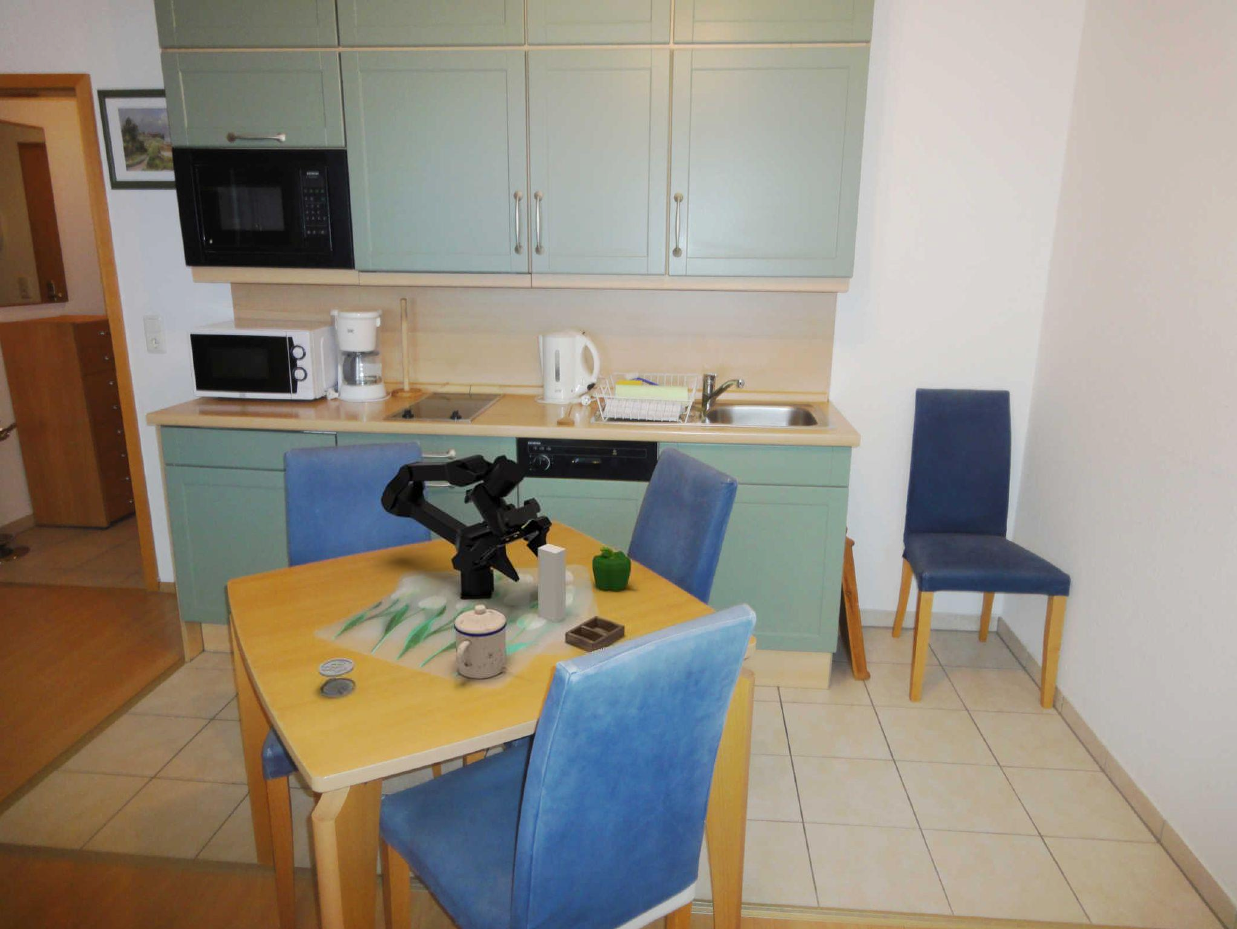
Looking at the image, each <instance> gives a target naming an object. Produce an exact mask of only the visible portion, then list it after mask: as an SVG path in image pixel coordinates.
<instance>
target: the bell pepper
mask: <svg viewBox="0 0 1237 929" xmlns="http://www.w3.org/2000/svg"><path fill="white" fill-rule="evenodd" d="M599 549H600V552H601V553H600V554H599V555H594V557H593V558H592V560H591V561H592V565H591V566H592V567H591V568H592V574H593V578H594V582H595V585H596V589H598V590H600V591H604V592H605V591H606V592H608V591H611V592H620V591H624V590H625V589H626V588H627V586H628V584H629V581H630V576H631V572H632V561H631V559H630V557H629V556H627V555H626V554H625V553H624V552H623V551H622V550H620V551H619V550H618V551H614V552H613V549H612V548H609V547H608V546H602V547H600V548H599Z"/></svg>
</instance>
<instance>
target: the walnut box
mask: <svg viewBox="0 0 1237 929" xmlns="http://www.w3.org/2000/svg"><path fill="white" fill-rule="evenodd" d="M625 626H626V625H623V624H620V623H617V622H615V621H611V620H610V619H607V618H603V617H602V616H601V617H600V616H597V615H595V616H593V617H591V618H589V619H587V620H586V621H584V622H582V623H581V624H579V625H577V626H575V627H574V628H571V629H570V630H568V631H566V632H564V633H565V634H564V638H565V640H564V643H565V644H567V645H570V646H572V647H575V648H577V649H580V650H583V651H585V652H587V653H590V652H592V651H595V650H598V649H601V648H603V647H605V648H607V647H609V646H611V645H612V644H613V643H615V642H617V641H618V640H620V639H622V638H624V637H625V635H626V634H625V631H626V630H625V628H626V627H625Z"/></svg>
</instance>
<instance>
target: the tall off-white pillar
mask: <svg viewBox="0 0 1237 929" xmlns="http://www.w3.org/2000/svg"><path fill="white" fill-rule="evenodd" d="M566 550H567V549H566V548H563V547H561V546H556V545H553V544H550V543H547V544H546V545H544V546H541V547H539V548H538V558H537V574H538V575H537V585H538V586H537V588H538V589H537V590H538V593H537V596H538V598H537V600H538V601H537V604H538V605H537V607H538V610H537V611H538V612H537V613H538V616H537V617H539V618H541V619H543V620H546V621H549V622H552V623H555V624H557V623H559V622H560V621H562V620H564V619H565V618H566V603H567V602H566V593H567V591H566V586H567V585H566V583H567V582H566V579H567V578H566V577H567V576H566V573H567V572H566V569H567V566H566V565H567V562H566V561H567V560H566V557H567V556H566V555H567V551H566Z"/></svg>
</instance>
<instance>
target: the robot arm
mask: <svg viewBox="0 0 1237 929" xmlns="http://www.w3.org/2000/svg"><path fill="white" fill-rule="evenodd" d="M524 471H525V470H524V469H523V467H522V466H521V464H519V463H518V462H516V461H514V460H512V459H510V458H508V457H507V456H506V455H505V454H502V455H498V456H496V457H495V459H494V460H493V462H491V461H489V460H486V459H485V458H484V456H483V455H482V454H477V453H476V454H474V455H473V454H472V455H469V456H466V457H463V458H458V459H455V460H454V459H453V460H451V461H424V462H423V461H418V460H417V461H413V462H410V463H406V464H403V465H402V466H400V468H399V469H398V471H397V474H395V476H393V477H392V479H390V481H388V483H387V484H386V486H385V488H384V490H383V491H382V495H381V497H380V504H381V506H382V508H383V509H384V511H385V512H387V514H389V515H392V516H395V517H397V518H404V519H405V518H407V519H412V520H414V521H416V522H417V523H418V524H420V525H422V526H423V527H425V528H426V529H428V530H429V531H431V532H433V533H434V534H436V535H437V536H439V537H441V538H442V539H443V540H445V541H447V542H449V543H450V544H452V545H453V546H454V548H455V552H456V554H455V555H454V556H453V557H452V558H451V559H450V560H451V564H452V567H453V569H454V570H455V571H458V572H460V596H459V597H460V599H462V600H464V599H465V600H466V599H467V600H468V599H489V598H493V597H492V596H493V595H492V594H493V592H494V591H495V577H494V576H495V574H494V573H495V572H494V570H496V571H497V572H499V573H501V574H502V575H504V576H505V577H507V578H509V579H510V580H512V581H513V582H515V583H518V582H519V581H520V576H519V574H518V572H517V570H516V569H515V567H514V565H513V563H512V562H511V560H510V559H509V557H508V554H507V545H510V544H511V543H514V542H517V541H520V540H522V539H523V540H524V541H525V542H527V543H526V544H525V545H526V547H527V548H528V549H529V550H530V551H531V553H532V554H533V555H534V556H535V557H536V558H537V559H538V548H539V547H541V546H544V545H546V544H548V542H547V537H548V533H549V532H550V527H552V526H553V522H551V520H550V518H549V517H548V516H546V515H541V516H538V513H541V511H542V510H541V506H540V503H539V502H538V500H537V499H536V498H535V497H532V498H529V499H526V500H524V501H523V506H519V507H516V506H515V504H513V503H507V501H506V500H505V498H506V497H508V496H509V495H510V494H511V493H512V492H514V490H515V489H516V488H517V487H518V486H519V485H520V483H521V482H523V480H524V479H525V472H524ZM425 482H446V483H448V484H449V485H451V486H455V487H459V488H464V487H467V486H471V485H474V487H473V488H470V489H467V490H465V496H464V501H463V502H464V504H465V505H467V504H471V503H473V505H474V507H475V508H476V510H477V511H478V513H479V515H480V516H481V518H482V520H483V521H482V522H477V523H473V524H471V525H466V524H465V523H463V522H461V521H460V520H458V519H456V518H455V517H454V516H452V515H450V514H449V513H447V512H445V511H443V510H442V509H441V508H439V507H437V506H436V505H434V504H432V503H430V502H429V501H428V500H426V497H425V493H424V491H425V489H426V485H425ZM475 484H476V485H475ZM522 527H523V528H522Z"/></svg>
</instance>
